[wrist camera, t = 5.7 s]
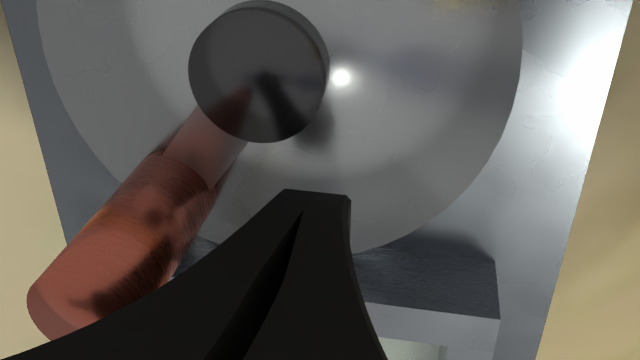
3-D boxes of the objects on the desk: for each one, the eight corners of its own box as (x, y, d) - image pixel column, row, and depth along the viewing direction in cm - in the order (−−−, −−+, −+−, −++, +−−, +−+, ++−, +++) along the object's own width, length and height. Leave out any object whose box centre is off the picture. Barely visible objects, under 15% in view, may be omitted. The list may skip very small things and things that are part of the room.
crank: (212, -365, 9) (-27, -539, 5) (622, 8, 11) (748, 154, 6) (18, 63, 14) (-198, 189, 9) (328, 280, 16) (276, 479, 11)
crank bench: (705, -340, 9) (848, -425, 6) (489, 492, 21) (497, 623, 17) (-48, -317, 11) (-258, -371, 8) (135, 431, 23) (81, 538, 19)
